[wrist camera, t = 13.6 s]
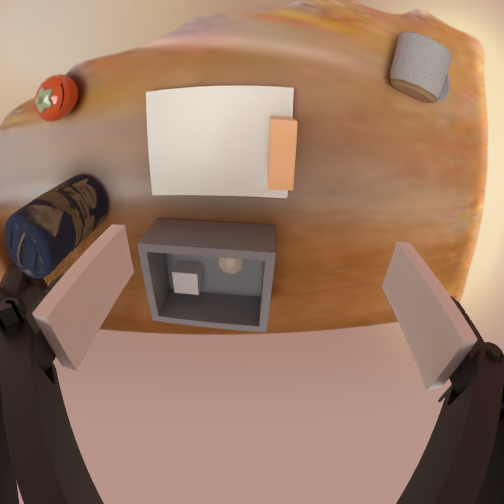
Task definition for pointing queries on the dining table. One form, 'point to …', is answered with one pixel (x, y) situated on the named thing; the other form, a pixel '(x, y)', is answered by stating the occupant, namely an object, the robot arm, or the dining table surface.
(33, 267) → the canister
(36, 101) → the tomato
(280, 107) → the lid
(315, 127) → the dining table surface
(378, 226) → the dining table surface
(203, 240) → the tub
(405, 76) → the ceramic mug
